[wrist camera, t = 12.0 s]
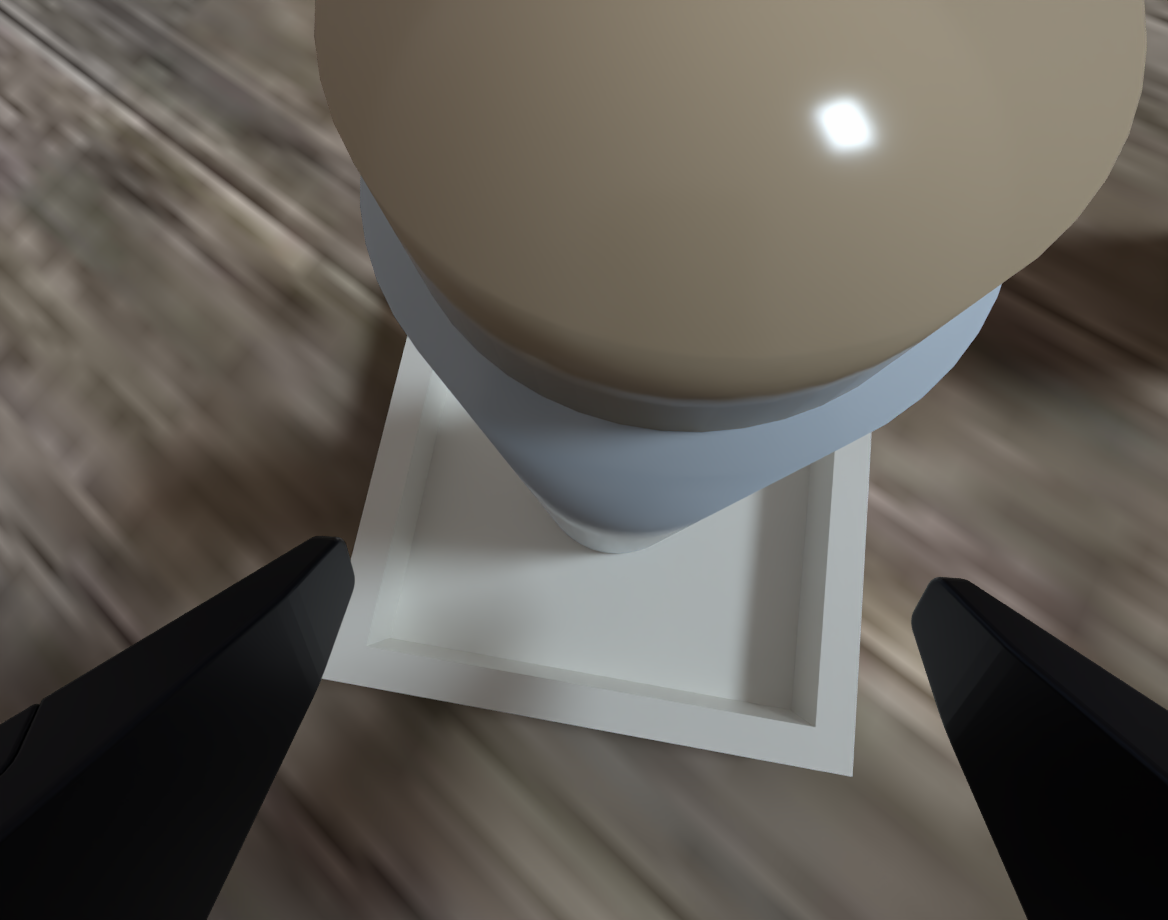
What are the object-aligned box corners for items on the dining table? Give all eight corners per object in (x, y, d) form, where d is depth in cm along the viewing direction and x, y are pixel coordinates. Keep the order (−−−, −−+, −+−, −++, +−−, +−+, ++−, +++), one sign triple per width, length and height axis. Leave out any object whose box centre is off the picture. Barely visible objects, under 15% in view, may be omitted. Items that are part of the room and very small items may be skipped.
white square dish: (811, 744, 16) (852, 776, 13) (361, 661, 16) (320, 678, 14) (841, 319, 18) (879, 280, 16) (456, 264, 19) (436, 219, 17)
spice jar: (634, 585, 16) (906, 668, 2) (510, 493, 17) (61, 73, 3) (721, 460, 17) (1359, -118, 3) (599, 377, 17) (611, -419, 3)
